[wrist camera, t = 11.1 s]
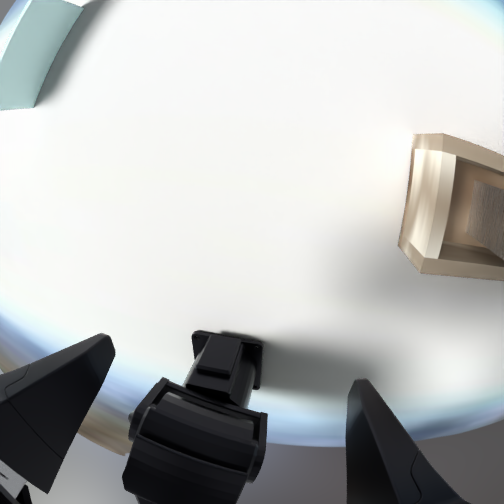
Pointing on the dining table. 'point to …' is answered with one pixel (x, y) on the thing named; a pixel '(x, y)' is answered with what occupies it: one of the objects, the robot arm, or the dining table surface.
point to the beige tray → (448, 207)
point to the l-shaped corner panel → (33, 50)
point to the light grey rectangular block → (487, 217)
